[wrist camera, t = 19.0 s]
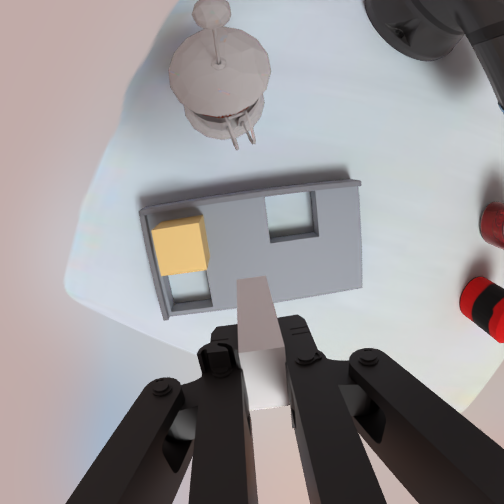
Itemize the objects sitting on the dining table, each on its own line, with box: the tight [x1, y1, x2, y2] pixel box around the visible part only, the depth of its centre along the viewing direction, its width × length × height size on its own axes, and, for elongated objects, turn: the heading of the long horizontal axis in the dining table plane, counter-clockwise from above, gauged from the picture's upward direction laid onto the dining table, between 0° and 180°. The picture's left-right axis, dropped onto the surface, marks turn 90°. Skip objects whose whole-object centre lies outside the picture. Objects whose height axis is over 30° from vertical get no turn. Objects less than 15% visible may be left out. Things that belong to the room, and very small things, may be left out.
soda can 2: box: [460, 277, 504, 343], centre depth 39 cm, size 8×8×12 cm
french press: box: [168, 0, 271, 150], centre depth 23 cm, size 10×12×25 cm
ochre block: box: [151, 215, 210, 276], centre depth 34 cm, size 5×5×5 cm
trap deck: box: [139, 179, 362, 320], centre depth 38 cm, size 14×26×4 cm, turn 97°
